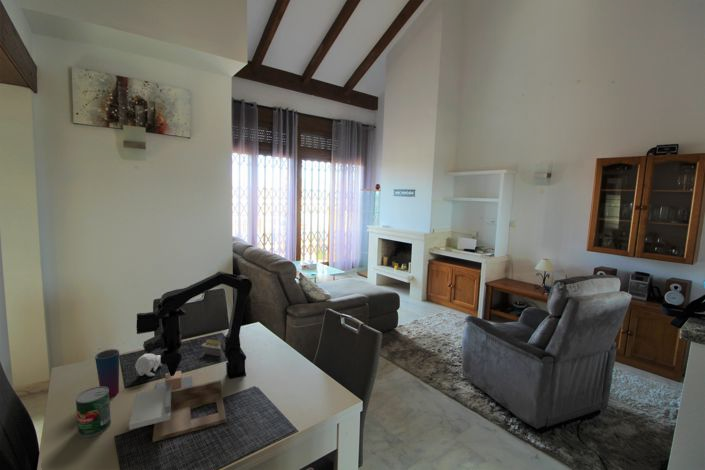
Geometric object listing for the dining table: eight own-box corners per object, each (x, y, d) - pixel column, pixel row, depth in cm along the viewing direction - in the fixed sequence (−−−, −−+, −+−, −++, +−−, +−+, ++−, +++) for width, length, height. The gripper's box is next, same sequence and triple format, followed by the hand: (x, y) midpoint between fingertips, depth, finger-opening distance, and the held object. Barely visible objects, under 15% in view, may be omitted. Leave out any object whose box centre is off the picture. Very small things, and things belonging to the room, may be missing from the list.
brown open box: (220, 394, 119) (220, 379, 119) (226, 422, 105) (226, 406, 105) (156, 409, 110) (155, 393, 110) (152, 442, 96) (152, 424, 95)
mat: (191, 377, 129) (191, 376, 129) (192, 394, 119) (192, 393, 119) (156, 384, 124) (156, 383, 124) (153, 403, 113) (153, 402, 113)
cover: (171, 389, 112) (171, 379, 111) (170, 419, 97) (169, 408, 97) (136, 396, 107) (135, 386, 107) (129, 429, 93) (128, 418, 92)
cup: (109, 401, 114) (106, 359, 112) (92, 398, 115) (89, 357, 113) (126, 389, 120) (124, 350, 118) (110, 387, 121) (108, 348, 120)
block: (181, 383, 125) (181, 370, 124) (181, 390, 120) (181, 377, 120) (166, 386, 122) (165, 373, 122) (165, 393, 118) (165, 380, 117)
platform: (204, 346, 156) (204, 333, 155) (239, 351, 152) (239, 337, 151) (186, 358, 144) (186, 344, 143) (224, 364, 140) (223, 350, 139)
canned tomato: (74, 439, 96) (71, 404, 95) (83, 422, 103) (80, 389, 102) (107, 432, 99) (104, 398, 98) (114, 416, 106) (111, 384, 105)
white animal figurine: (133, 357, 126) (153, 345, 138) (133, 379, 126) (153, 365, 138) (149, 357, 126) (168, 346, 138) (149, 380, 126) (168, 366, 138)
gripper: (146, 321, 123) (148, 361, 125) (141, 343, 106) (143, 388, 108) (180, 317, 128) (182, 356, 130) (180, 337, 111) (182, 380, 113)
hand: (172, 369), depth 120 cm, fingers open, 9 cm apart
